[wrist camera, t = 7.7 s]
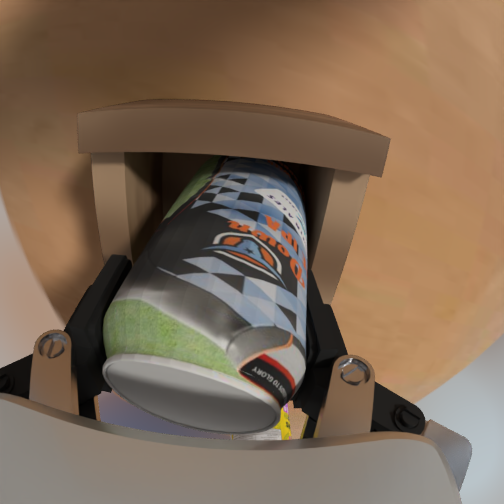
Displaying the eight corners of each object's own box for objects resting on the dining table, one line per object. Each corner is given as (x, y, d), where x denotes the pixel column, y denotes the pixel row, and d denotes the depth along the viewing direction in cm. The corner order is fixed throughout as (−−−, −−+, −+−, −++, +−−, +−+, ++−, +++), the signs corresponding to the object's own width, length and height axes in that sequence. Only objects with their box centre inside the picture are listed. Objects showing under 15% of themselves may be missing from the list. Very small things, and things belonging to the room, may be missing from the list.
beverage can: (302, 230, 18) (345, 434, 8) (183, 244, 18) (146, 440, 9) (297, 130, 14) (398, 345, 4) (155, 151, 14) (36, 358, 5)
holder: (145, 99, 15) (77, 113, 8) (329, 115, 16) (390, 138, 9) (150, 271, 21) (118, 354, 14) (294, 283, 22) (314, 368, 15)
